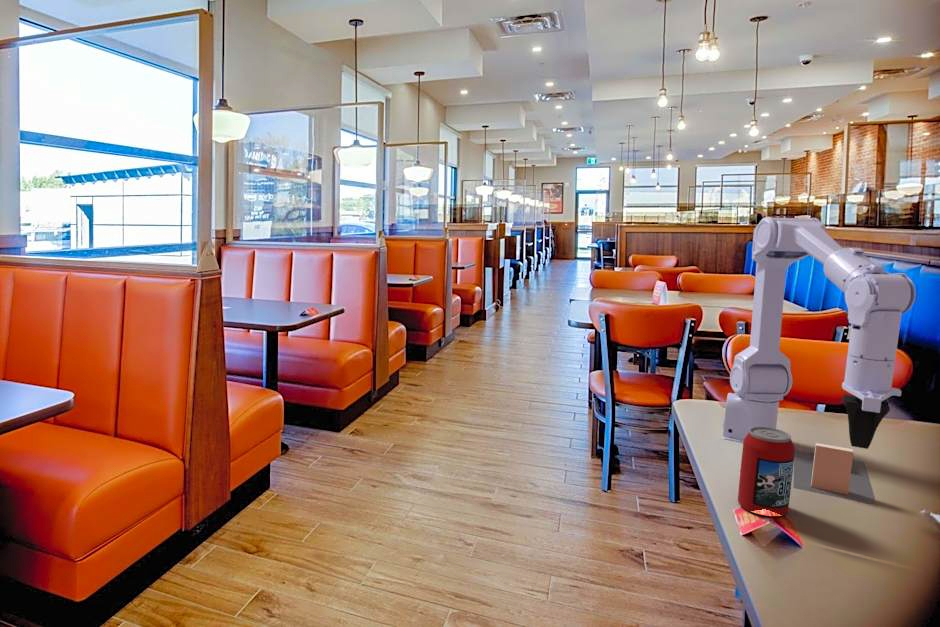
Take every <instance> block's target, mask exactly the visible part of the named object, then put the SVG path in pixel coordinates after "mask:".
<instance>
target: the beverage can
mask: <svg viewBox="0 0 940 627" xmlns="http://www.w3.org/2000/svg"><path fill="white" fill-rule="evenodd" d="M795 450H796V447H795V445H794V442H793V440H792V436H791V434H790V433H787V432H786V431H784V430H781V429H778V428H776V429H774V428H768V427H754V428H751V429H750V432H749V433H748V434H747V436H746V437H745V438H744V442H743V443H742V452H741V460H740V462H741V463H740V469H739V470H740V471H739V482H738V495H737V502H738V504H739V505H740V507H742V508H743V509H744V510H746V511H747V510H748V511H747V512H749V511H755V510H762V509H766V510H770V511H772V512H775V513H777V514H780V515H782V516H785V515H787V514H788V513H789V507H790V497H791V491H792V484H793V482H792V481H793V475H794V455H795ZM782 516H781V517H782Z"/></svg>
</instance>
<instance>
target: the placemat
mask: <svg viewBox="0 0 940 627" xmlns="http://www.w3.org/2000/svg"><path fill="white" fill-rule="evenodd" d="M814 455H815V452H810V451H804V450H798V449H795V455H794V465H793V489H798V490H803V491H807V492H810V493H811V492H812V493H817V494H820V495H821V494H822V495H827V496H830V497H831V496H832V497H837V498H839V499H845V500H849V501H850V500H851V501H855V502H860V503H864V504H869V505H873V506H877V502H876V500H875V496H874V492H873V489H872V485H871V482H870V478H869V475H868V472H867V468H866V464H865V462H863V461H859V460H852V468H851V475H850V483H849V491H848V495H847V494H843V493H838V492H833V491H828V490H823V489H819V488H814V487H811V481H812V472H813V464H814Z"/></svg>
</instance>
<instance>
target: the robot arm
mask: <svg viewBox="0 0 940 627" xmlns="http://www.w3.org/2000/svg"><path fill="white" fill-rule="evenodd" d="M826 231H827V230H826V224H825V223H824V222H822V221H821V220H819V219H818V218H816V217H808V218H797V217H794V218H792V217H772V216H764V217H763V218H761V220H759V223H758V224H757V225H756V226H755V227H754V229H753V235H752V236H753V237H752V247H751V259H752V261H754V262H756V265H755V266H756V267H755V278H754V291H753V302H752V303H753V305H752V316H751V329H750V340H749V346H748V347H747V348H745V349H743V350H741V351H740V352H738V353H737V354H736V355H734V359H733V364H732V366H731V367H732V368H731V369H730V374H729V383H730V387H731V389H732V391H733V393H732V392H728V393H727V397H726V401H725V402H726V404H725V409H724V410H725V411H724V419H723V422H722V428H723V431H722V440H726V441H731V442H736V443H741V444H743V442H744V438H745V437H746V436H747V434H748V433H749V432H750V429H751V428H754V427H768V428H774V429H777V426H778V425H777V423H778V415H779V405H780V401H783V400H784V396H787V395H788V394H789V393H790V391H791V388H792V386H793V376H792V372H791V360H790V359H789V357H788V356H786V354H784V353H783V352H782V351H780V348H781V347H780V343H781V335H782V333H781V332H782V323H783V322H782V321H783V310H784V300H785V299H784V298H785V288H786V275H787V274H786V273H787V269H788V268H789V267H790V266H791V265H793V263H795V262H799V261H801V260H802V259H804V258H806V257H808V256H811V257H812V258H814V259H815V260H816V261H817V262H819V263H821V264H822V265H823V274H824V276H825V277H826V278H827V279H828V280H829V281H831V283H832V284H834V285H835V286H836V287H837V288H838V289H839V290H841V292H843V293H844V300H845V301H844V302H845V304H846V307H847V311H848V312H847V320H848V323H849V324H850V332H849V333H850V334H849V340H848V347H847V348H848V349H847V357H846V365H845V373H844V379H843V380H844V381H843V382H842V383H841V388H842V389H843V390H844V391H846V392H847V393H849V394H842V395H841V399H842V403H843V405H844V407H845V410H846V413H847V421H848V434H849V442H850V445H851V447H855V448H860V449H869V448H870V445H871V444H872V442H873V439H874V436H875V433H876V431H877V428H878V427H879V425H880V423H881V422H882V420H883V419H884V418H885V416H887V415H888V414H889V412H890V410H891V407H890V405H889V402H888V400H887V399H889V398H890V397H892V396H895V397H896V396H897V397H901V396H902V390H901V389H900V388H897V387H892V386H893V379H894V373H895V372H894V371H895V364H896V358H897V351H898V350H897V348H898V343H899V337H900V336H899V335H900V329H901V323H902V322H901V321H902V316H903V314H906V313H907V312H908V311H910V310H911V309H912V307H913V305H914V303H915V300H916V288H915V287H916V286H915V284H914V282H913V280H912V279H911V278H910V277H909V276H908V275H907V274H906V273H903V272H902V273H901V272H896V273H895V272H894V273H891V272H887V271H886V270H884V267H883V266H882V265H881V264H880V263H875V262H874V261H873V260H871V259H870V258H868V257H867V256H866V255H865V251H864V250H863V249H862V248H860V247H844V248H843V247H842V246H841V245H840V244H839V243H838V242H836V240H835V239H833V238H832V236H831V235H829V233H828V232H826ZM850 394H851V395H850Z"/></svg>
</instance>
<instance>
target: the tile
mask: <svg viewBox="0 0 940 627" xmlns="http://www.w3.org/2000/svg"><path fill="white" fill-rule="evenodd" d="M814 453H815V455H814V464H813V472H812V481H811V487H814V488H819V489H823V490H828V491H833V492H838V493H843V494H847V495H848V491H849V483H850V475H851V468H852V460H853V458H854V450H853V449H852V448H846V447H841V446H835V445H831V444H830V445H829V444H824V443H819V442H815V448H814Z"/></svg>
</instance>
